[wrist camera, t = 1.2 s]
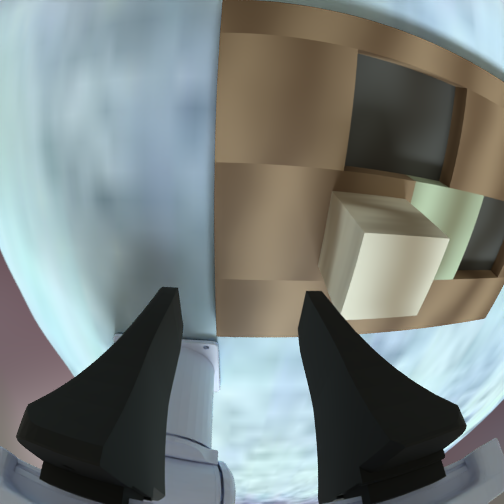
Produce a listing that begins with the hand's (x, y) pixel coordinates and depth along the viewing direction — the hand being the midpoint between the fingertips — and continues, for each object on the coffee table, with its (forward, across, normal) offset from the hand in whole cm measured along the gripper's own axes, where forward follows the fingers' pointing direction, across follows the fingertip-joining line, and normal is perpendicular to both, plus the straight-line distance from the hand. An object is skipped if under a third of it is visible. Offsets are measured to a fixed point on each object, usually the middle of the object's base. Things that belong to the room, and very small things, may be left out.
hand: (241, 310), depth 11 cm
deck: (+8, -12, -2) cm, 15 cm away
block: (+7, -8, 0) cm, 10 cm away
